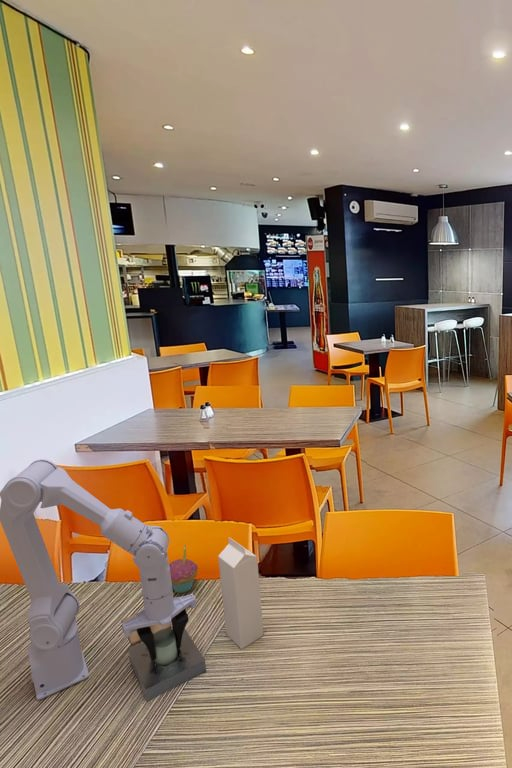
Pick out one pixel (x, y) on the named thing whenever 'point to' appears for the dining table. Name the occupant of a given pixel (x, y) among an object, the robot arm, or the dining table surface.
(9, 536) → the robot arm
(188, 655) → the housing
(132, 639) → the coaster
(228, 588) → the milk
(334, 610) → the dining table surface
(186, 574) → the cupcake
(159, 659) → the cylinder
